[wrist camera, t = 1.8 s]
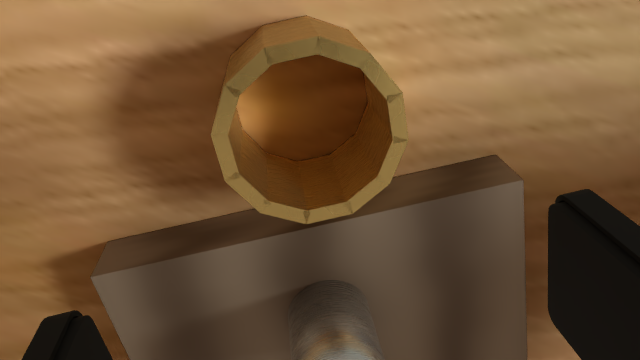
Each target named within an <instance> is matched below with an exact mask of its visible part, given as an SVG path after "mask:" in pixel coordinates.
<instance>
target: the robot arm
mask: <svg viewBox="0 0 640 360" xmlns="http://www.w3.org/2000/svg"><path fill="white" fill-rule="evenodd" d="M548 311H549V315H550V317H551V320H552V322H553V324H554V325H555V326H556V328H557V329H558V330H559V332H560V333H561V334H562V335H563V337H564V338H565V339H566V340H567V342H568V343H569V344H570V346H571V347H572V348H573V349H574V351H575V352H576V353H577V354H578V356H579V357H580V358H581V359H582V360H640V226H639V225H637V224H636V223H634V222H633V221H632V220H630V219H629V218H628V217H626V216H625V215H624V214H622V213H621V212H620V211H618V210H617V209H616V208H614V207H613V206H612V205H610V204H609V203H608V202H606V201H605V200H604V199H602V198H601V197H600V196H598V195H597V194H596V193H594V192H593V191H591V190H589V189H584V190H580V191H576V192H571V193H567V194H563V195H559V196H558V197H557V199H556V201H555V204H552V205H551V206H550V207H549V211H548ZM22 360H113V359H112V357H111V355H110V353H109V351H108V349H107V347H106V345H105V343H104V341H103V339H102V337H101V335H100V333H99V331H98V329H97V327H96V325H95V323H94V321H93V320H92V318H91V317H90V316H88V315H85V316H82V314H81V313H80V312H79V311H75V310H74V311H70V312H66V313H62V314H58V315H53V316H49V317H46V318H44V320H43V321H42V322H41V324H40V326H39V328H38V330H37V332H36V334H35V335H34V337H33V339H32V341H31V343H30V345H29V347H28V349H27V351H26V353H25V354H24V356H23V358H22Z"/></svg>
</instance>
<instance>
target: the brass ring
mask: <svg viewBox="0 0 640 360" xmlns="http://www.w3.org/2000/svg"><path fill="white" fill-rule="evenodd" d="M316 54H318V55H321V56H324V57H328V58H331V59H334V60H337V61H340V62H343V63H346V64H349V65H352V66H355V67H358V68H360V69H361V70H362V71H363V74H364V81H365V87H366V93H367V99H368V103H367V106H366V108H365V111H364V113H363V116H362V119H361V121H360V124H359V126H358V129H357V132H356V133H355V134H354V135H353V136H352V137H351V138H349V139H348V140H347V141H346V142H345V143H343V144H342V145H341V146H340V147H339V148H338V149H336V150H335V151H334V152H333V153H332V154H330V155H326V156H321V157H317V158H312V159H308V160H303V161H299V162H298V161H295V160H291V159H287V158H283V157H280V156H276V155H272V154H269V153H266V152H265V151H264V150H263V149H262V148H261V147H260V146H259V145H258V144H257V143H256V142H255V141H254V140H253V139H252V138H251V137H250V136H249V135H248V134H247V133H245V132H244V131H243V129H242V126H241V122H240V118H239V115H238V111H237V108H236V105H237V102H238V98H239V95H240V94H241V93H242V92H243V91H244V90H245V89H246V88H247V87H248V86H249V85H250V84H252V83H253V82H254V81H255V80H256V79H257V78H258V77H259V76H260V75H261V74H262V73H263V72H265V71H266V70H267V69H268V68H269V67H270V66H271V65H272V64H275V63H280V62H285V61H289V60H294V59H298V58H303V57H307V56H312V55H316ZM211 138H212V141H213V144H214V148H215V151H216V154H217V157H218V161H219V164H220V167H221V170H222V174H223V177H224V180H225V182H226V183H227V184H228V185H230V186H231V187H232V188H233V189H234V190H235V191H236V192H237V193H238V194H240V195H241V196H242V197H243V198H244V199H245V200H246V201H247V202H248V203H250V204H251V205H252V206H253V207H254V208H255V209H256V210H257V211H258V212H260V213H262V214H266V215H270V216H274V217H278V218H283V219H287V220H291V221H295V222H299V223H303V224H310V223H314V222H319V221H323V220H327V219H332V218H336V217H341V216H345V215H350V214H353V213H354V212H356V211H357V210H358V209H359V208H361V207H362V206H363V205H364V204H366V203H367V202H368V201H369V200H371V199H372V198H373V197H374V196H375V195H377V194H378V193H379V192H380V191H382V190H383V189H384V188H385V187H387V186H388V185H389V184H390V182H391V180H392V178H393V175H394V173H395V171H396V168H397V166H398V164H399V161H400V159H401V157H402V154H403V152H404V150H405V147H406V145H407V143H408V132H407V124H406V116H405V108H404V100H403V92H402V91H401V90H400V89H399V88H398V86H397V85H396V84H395V83H394V82H393V80H392V79H391V78H390V77H389V75H388V74H387V73H386V72H385V71H384V69H383V68H382V67H381V66H380V65H379V63H378V62H377V61H376V60H375V59H374V57H373V56H372V55H371V54H370V52H369V51H368V50H367V49H366V48H365V47H364V46H363V45H362V44H361V43H360V42H359V41H358V40H357V39H356V38H355V37H354V36H353V34H352V33H351V32H350V31H349V30H347V29H344V28H341V27H338V26H335V25H332V24H330V23H327V22H324V21H321V20H318V19H315V18H312V17H309V16H303V17H298V18H293V19H289V20H284V21H280V22H275V23H271V24H266V25H262V26H261V27H260V28H259V29H258V30H257V31H256V32H255V33H254V34H253V35H252V36H251V37H250V38H249V39H248V40H247V41H246V42H245V43H243V44H242V45H241V46H240V47H239V48H238V49H237V50H236V51H235V52H234V53H233V54H232V55H231V56H230V60H229V64H228V67H227V71H226V75H225V79H224V82H223V86H222V90H221V93H220V97H219V101H218V105H217V110H216V114H215V118H214V122H213V127H212V131H211Z"/></svg>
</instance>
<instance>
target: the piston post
mask: <svg viewBox="0 0 640 360" xmlns="http://www.w3.org/2000/svg"><path fill="white" fill-rule="evenodd" d="M288 324H289V337H290V350H291V360H384V356H383V353H382V349H381V346H380V343H379V339H378V336H377V333H376V329H375V326H374V323H373V319H372V316H371V313H370V309H369V306H368V302H367V300H366V297H365V296H364V294H363V293H362V292H361V291H360V290H359V289H358V288H357V287H356V286H354V285H352V284H350V283H347V282H344V281H339V280H324V281H319V282H316V283H313V284H311V285H309V286H307V287H305V288H304V289H302V290H301V291H300V292H299V293H298V294H297V295H296V296H295V297H294V299H293V300H292V302H291V304H290V306H289V310H288Z"/></svg>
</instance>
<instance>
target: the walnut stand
mask: <svg viewBox="0 0 640 360" xmlns="http://www.w3.org/2000/svg"><path fill="white" fill-rule="evenodd" d="M90 278H91V280H92V282H93V284H94V286H95V288H96V290H97V292H98V294H99V296H100V298H101V300H102V303H103V305H104V307H105V309H106V311H107V313H108V315H109V317H110V319H111V321H112V323H113V325H114V327H115V330H116V332H117V334H118V336H119V338H120V340H121V342H122V344H123V346H124V348H125V350H126V352H127V354H128V356H129V359H130V360H291V350H290V337H289V324H288V310H289V306H290V304H291V302H292V300H293V299H294V297H295V296H296V295H297V294H298V293H299V292H300V291H301V290H302V289H304V288H305V287H307V286H309V285H311V284H313V283H316V282H319V281H324V280H339V281H344V282H347V283H350V284H352V285H354V286H356V287H357V288H358V289H359V290H360V291H361V292H362V293H363V294H364V296H365V297H366V300H367V302H368V306H369V309H370V313H371V316H372V319H373V323H374V326H375V329H376V333H377V336H378V339H379V343H380V346H381V349H382V353H383V356H384V360H527V321H526V276H525V231H524V186H523V179H522V178H521V177H520V176H519V175H518V174H516V173H515V172H514V171H513V170H512V169H511V168H510V167H509V166H508V165H507V164H506V163H505V162H504V161H502V160H501V159H500V158H499V157H498V156H497V155H492V156H488V157H483V158H479V159H475V160H470V161H466V162H461V163H457V164H452V165H448V166H443V167H439V168H434V169H430V170H425V171H421V172H417V173H412V174H408V175H403V176H399V177H394V178H392V180H391V182H390V184H389V185H388V186H387V187H385V188H384V189H383V190H382V191H380V192H379V193H378V194H377V195H375V196H374V197H373V198H372V199H371V200H369V201H368V202H367V203H366V204H364V205H363V206H362V207H361V208H359V209H358V210H357V211H356V212H354V213H353V214H350V215H345V216H341V217H336V218H332V219H327V220H323V221H319V222H314V223H310V224H303V223H299V222H295V221H291V220H287V219H283V218H278V217H274V216H270V215H266V214H262V213H260V212H258V211H257V210H256V209H252V210H247V211H243V212H238V213H234V214H229V215H225V216H220V217H216V218H211V219H207V220H203V221H198V222H194V223H189V224H185V225H180V226H176V227H171V228H167V229H162V230H158V231H153V232H149V233H145V234H140V235H136V236H131V237H127V238H122V239H118V240H113V241H109V242H107V244H106V246H105V248H104V250H103V252H102V254H101V257H100V259H99V261H98V263H97V265H96V267H95V269H94V271H93V273H92V275H91V277H90Z"/></svg>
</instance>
